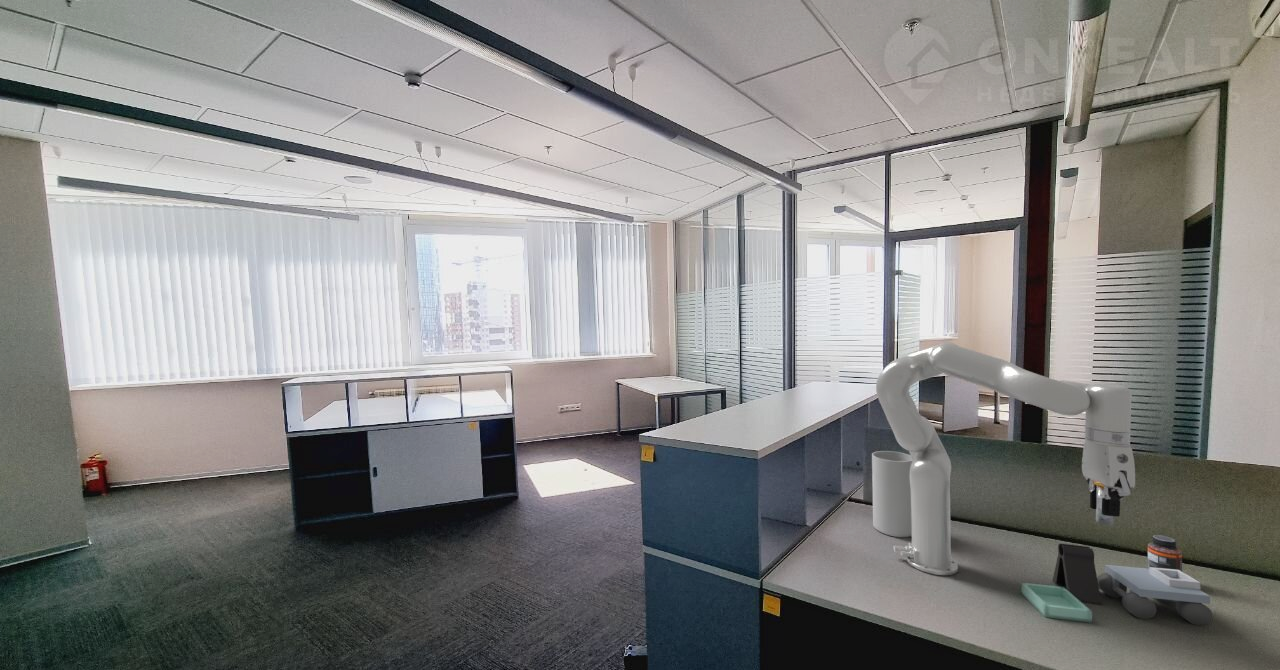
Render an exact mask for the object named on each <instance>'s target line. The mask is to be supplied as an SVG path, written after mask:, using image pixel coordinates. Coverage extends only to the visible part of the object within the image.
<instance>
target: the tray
mask: <svg viewBox="0 0 1280 670" xmlns="http://www.w3.org/2000/svg"><path fill="white" fill-rule="evenodd" d="M1020 586H1021V587H1020V589H1021V590H1020V593H1021V594H1022V595H1023V596H1024V597H1025V599H1027V600H1028V601H1029V603H1031V604H1032V605H1033V606H1034V608H1036V610H1038V612H1040V614H1042V616H1043V617H1044V618H1049V619H1059V620H1066V621H1067V620H1068V621H1075V622H1076V621H1077V622H1085V623H1093V611H1092V610H1091V609H1090V608H1089V607H1087V605H1085V604H1084V602H1081V601H1079V600H1078V599H1077V598H1076V597H1075V596H1073V595H1072V594H1071V593H1070V592H1069V591H1068V590H1066V589H1065V588H1064V587H1058V586H1057V585H1045V584H1039V583H1037V584H1036V583H1030V582H1029V583H1028V582H1020Z"/></svg>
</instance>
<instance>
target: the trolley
mask: <svg viewBox="0 0 1280 670" xmlns="http://www.w3.org/2000/svg"><path fill="white" fill-rule="evenodd" d="M1097 580H1098V585H1099V590H1100V591H1102V592H1103V593H1104V594H1106V595H1107V596H1108V597H1111V598H1121V597H1122V598H1121V604H1122V606H1123V608H1124V609H1125V610H1127V611H1128V612H1129V613H1131V614H1132V615H1133V616H1134V617H1136V618H1137V619H1141V620H1148V619H1151V618H1153V617H1154V616H1155V615H1156V613H1157V607H1156V604H1155V602H1153V601H1152V600H1151V599H1155V600H1157V601H1158V602H1160V603H1165V604H1170V603H1173V602H1174V603H1175V611H1176V613H1177V614H1178V615H1179V616H1180V617H1181V618H1183V619H1185V620H1186V621H1188V622H1189V623H1190V624H1192V625H1195V626H1206V625H1208V624H1209V623H1211V622H1212V620H1213V612H1212V610H1211V608H1209V607H1208V606H1207V604H1208V605H1211V596H1210V595H1209V594H1207V593H1206V592H1204V591H1202V590H1201V582H1200V581H1198V580H1196V579H1195V578H1193V577H1192V576H1190V575H1189V574H1186V573H1185V572H1183V571H1182V572H1181V571H1180V570H1175V569H1164V568H1153V567H1149V569H1148V567H1147V568H1144V567H1133V566H1124V565H1113V564H1105V565H1104V572H1102V573H1100V574H1099V575H1097ZM1128 589H1129V592H1127V591H1128ZM1149 598H1150V599H1149ZM1205 604H1206V605H1205Z"/></svg>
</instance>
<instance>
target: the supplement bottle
mask: <svg viewBox="0 0 1280 670" xmlns="http://www.w3.org/2000/svg"><path fill="white" fill-rule="evenodd" d="M1149 567H1153V568H1164V569H1175V570H1180V571H1181V572H1183V555H1182V550H1180V548H1178V547H1177V543H1176V539H1174V538H1172V537H1170V536H1166V535H1161V534H1160V535H1159V534H1154V535H1153V536H1152V542H1149V543H1148V544H1147V569H1149Z"/></svg>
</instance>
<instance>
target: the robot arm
mask: <svg viewBox="0 0 1280 670" xmlns="http://www.w3.org/2000/svg"><path fill="white" fill-rule="evenodd" d="M942 374H944V375H947V376H949V377H953V378H956V379H959V380H962V381H965V382H967V383H968V382H969V383H970V384H973V385H976V386H979V387H982V388H985V389H988V390H991V391H994V392H995V393H998V394H1001V395H1004V396H1007V397H1010V398H1013V399H1016V400H1019V401H1021V402H1023V403H1026V404H1029V405H1032V406H1036V407H1037V408H1038V407H1039V408H1040V409H1044V410H1047V411H1049V412H1052V413H1055V414H1059V415H1063V416H1069V417H1070V416H1077V415H1081V414H1082V413H1085V417H1084V418H1085V423H1084V424H1085V426H1084V427H1085V428H1084V443H1083V449H1082V457H1081V472H1082V476H1083V478H1085V480H1086V482H1087V484H1088V490H1089V492H1090V493H1089V494H1090V495H1089V498H1090V499H1089V508H1090V509H1093V510H1096V491H1097V485H1095V484H1094V480H1095V481H1097V482H1099V483H1101V484H1102V485H1104V497H1105V498H1102V514H1103V515H1105V516H1114V517H1116V518H1117V517H1120V516H1121V515H1120V513H1121V501H1123V499H1124V497H1128V496H1131V494H1132V493H1131V490H1134V489H1135V487H1136V467H1135V465H1136V464H1135V459H1134V453H1133V448H1132V447H1131V427H1132V426H1131V421H1132V400H1133V399H1132V397H1133V396H1132V390H1131V389H1130V388H1129V387H1126V386H1124V385H1117V384H1107V383H1106V384H1103V383H1096V384H1095V383H1093V384H1091V383H1082V382H1077V381H1076V382H1075V381H1069V380H1057V379H1054V378H1051V377H1048V376H1044V375H1041V374H1038V373H1035V372H1033V371H1030V370H1026V369H1025V368H1022V367H1020V366H1018V365H1016V364H1014V363H1012V362H1009V361H1008V360H1005V359H1002V358H999V357H996V356H992V355H988V354H986V353H982V352H978V351H975V350H972V349H969V348H966V347H962V346H960V345H958V344H957V343H954V342H942V343H939V344H936V345H934V346H931V347H928V348H925V349H923V350H919V351H917V352H913V353H911V354H907V355H905V356H901V357H898V358H896V359H894V360H892V361H891V362H890V363H888V364H887V365H886V366H885V367H884V368H883V369H882V371H881V372H880V373H879V375H878V377H877V380H876V383H875V389H876V390H875V391H876V395H877V399H878V402H879V403H880V405H881V409H882V410H883V413H884V414H885V418H886V420H887V422H888V424H889V426H890V428H891V430H892V433H893V435H894V437H895V440H896V442H897V443H898V444H899V446H900V447H901V448H902V449H904V450H906V451H908V453H909V455H911V457H912V459H913V461H912V464H911V467H910V474H909V476H910V489H911V528H912V536H911V542H909V541H908V544H907V545H904V546H901V545H895V544H894V545H893V546H892V547H893V551H894V553H895V554H896V553H897V554H898V553H899V554H900V556H901V557H905V560H906V561H907V563H908V564H909V565H910V566H912V568H915V569H917V570H918V571H921V572H925V573H926V574H927V573H928V574H931V575H936V576H951V575H954V574H955V575H956V573H957V572H958V570H959V567H958V564H957V561H955V560H954V559H952V547H951V546H952V545H951V543H952V541H951V538H952V537H951V536H952V533H951V530H952V529H951V490H950V489H951V487H950V486H951V474H952V463H951V462H952V461H951V459H950V457H949V455H948V452H947V451H946V448H945V446H944V444H943V443H942V441H941V438H940V437H939V434H938V433H937V431H936V429H935V426H934V425H933V423H932V422H931V421H930V420H929V419H928V418H927V417H925V416H923V415H921V414H920V411H919V410H918V408H917V405H916V403H915V401H914V400H913V397H911V394H910V388H911V387H912V386H913V385H915V384H916V383H917V382H920V381H923V380H927V379H930V378H934V377H937V376H940V375H942ZM1114 484H1116V486H1115V485H1114ZM1111 489H1115V491H1112V492H1111Z"/></svg>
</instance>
